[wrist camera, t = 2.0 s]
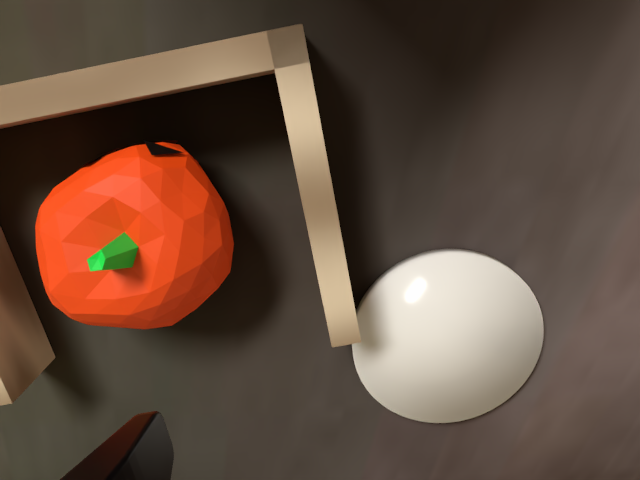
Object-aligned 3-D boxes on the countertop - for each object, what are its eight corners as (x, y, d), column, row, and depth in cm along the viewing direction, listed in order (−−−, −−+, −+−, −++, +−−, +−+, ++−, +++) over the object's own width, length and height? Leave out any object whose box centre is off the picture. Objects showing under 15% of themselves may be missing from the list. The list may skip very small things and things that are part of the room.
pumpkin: (47, 219, 22) (-78, 253, 15) (176, 108, 20) (97, 94, 14) (150, 338, 22) (73, 415, 16) (280, 239, 21) (251, 282, 15)
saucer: (540, 396, 24) (547, 406, 23) (366, 425, 25) (368, 436, 24) (531, 231, 21) (539, 237, 21) (336, 267, 22) (337, 274, 21)
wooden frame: (354, 304, 22) (361, 342, 19) (32, 361, 23) (-15, 408, 20) (304, 34, 19) (302, 23, 15) (-78, 112, 19) (-158, 118, 16)
